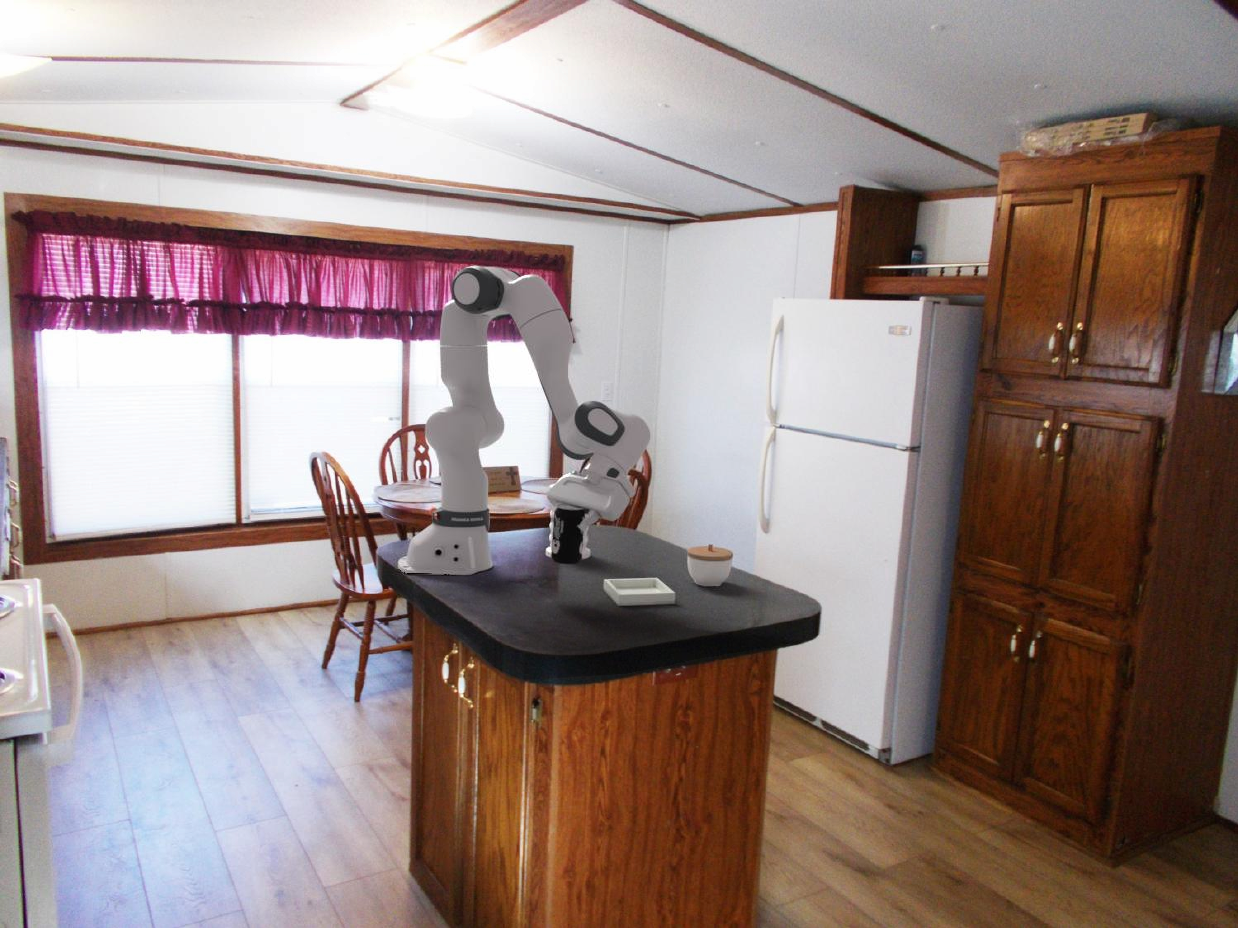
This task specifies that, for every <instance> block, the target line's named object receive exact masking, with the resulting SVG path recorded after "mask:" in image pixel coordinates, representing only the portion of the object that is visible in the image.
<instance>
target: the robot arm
mask: <svg viewBox="0 0 1238 928" xmlns="http://www.w3.org/2000/svg"><path fill="white" fill-rule="evenodd" d="M450 289H451V290H450V292H451V293H450V294H451V297H452V300H449V301H447V302H446V304H444V306H443V309H442V313H441V320H440V330H439V351H440V352H439V357H440V358H439V360H440V378H441V382H442V383H443V384H444V386H445V387H446V388H447V391H448V393H449V396H450V399H451V403H452V405H451V406H446V407H444V408H442V409H439V410H437V411H436V412H434V413H432V414H431V415H430V416H429V417H428V419H427V420H426V423H425V426H424V435H425V439H426V441H427V443H428V445H429V446H430V447H431V448H432V449H433V450H434V452H435V455H436V459H437V463H438V466H439V467H438V468H439V471H440V479H441V481H440V486H441V487H440V488H441V491H440V495H441V497H440V499H441V500H440V502H441V503H440V507H438V508H437V507H435V506H432V507H430V509H429V514H430V516H431V520H432V523H431V524H430V525H428V526H427V527H426V528H424V529H423V530H422V531H420V532H418V534H416V535H415V536H413V537H412V539H411V540H410V542H409V545H408V549H407V553H406V556H403V557H400V558H399V559H398V561H397V568H398V570H399V569H400V570H401V571H400V570H399V571H400V572H402V573H404V572H405V573H404V574H407V573H432V574H431V575H444V574H447V575H448V574H449V576H451V575H452V576H453V575H455V576H471V575H473V574H475V573H478V572H482V571H486V570H489V569H491V568H493V566H494V564H493V560H492V556H491V550H490V544H489V543H490V542H489V530H490V526H491V525H490V520H491V519H490V515H491V514H490V509H489V507H488V506H489V505H488V503H489V475H488V474H487V472H486V471H485V470H484V468H483V465H482V462H481V457H480V449H485V448H488V447H491V446H492V445H493V444H495V443H496V442H497V441H498V440H499V439H501V437H502V436H503V433H504V431H505V421H504V417H503V414H502V413H501V412H500V411H499V410H498V408H497V406H496V402H495V399H494V395H493V391H492V388H491V384H490V376H489V357H488V356H489V354H488V327H489V324H490V322H491V321H492V320H495V321H500V320H503V319H505V318H508V317H512V320H513V321H514V323H515V325H516V328H517V329H518V331H519V334H520V336H521V339H522V340H523V342H524V345H525V346H526V349H527V351H528V353H529V355H530V358H531V360H532V363H533V366H534V368H535V371H536V373H537V376H538V380H539V383H540V385H541V388H542V391H543V393H544V397H546V401H547V404H548V406H549V408H550V411H551V414H552V416H553V420H554V423H555V431H556V433H555V434H556V435H555V436H556V443H557V446H558V449H560V451H561V452H562V453H563V454H564V455H565V456H566V457H568V458H570V459H571V460H572V459H573V460H575V461H584V460H588V459H589V460H588V462H587V463H586V464H585V466H584V467H583V468H582V470H581V472H579V471H576V470H575V471H572V472H569V473H566V474H564V475H562V476H561V477H560V478H559V479H558V480H557V481H556V482H555V483H553V484H554V486H553V487H552V488H551V489H550V488H549V490H548V491H547V492H546V493H547V495H546V498H547V500H548V501H549V503H550V502H551V503H552V505H553V506H555V510H556V509H557V505H558V504H571V505H575V506H579V507H583V508H584V509H583V511H584V513H585V514H587V515H588V516H587V517H586V518H584V519H583V520H579V522H578V523H577V524H576V528H577V529H578V530H580V531H583V532H584V531H585V530H586V529H587V527H588V526H589V527H590V526H591V525H593V524H595V523H596V522H598V520H599V519H601V520H602V519H603V520H606V521H610V522H615V520H618V519H619V518H620V517H621V516H622V515H623V513H624V512H625V510H626V508H628V506H629V503H630V502H631V501H630V499H631V498H633V497H634V496H635V495H636V493H637V491H636V489H635V487H634V486H633V484H632V483H631V481H630V479H629V478H628V474H629V472H630V470H632V469H633V468H634V467H635V466H636V465H637V464H638V462H639V460H640V459H641V458H642V456H643V454H644V453H645V451H646V449H647V447H648V446H649V444H650V440H651V430H650V428H649V426H648V425H647V424H648V423H646V421H645V419H642V417H641V416H638V414H634V413H632V412H631V413H630V412H629V413H626V412H625V413H623V412H620V411H617V410H614V409H612V408H610V407H608V406H607V405H606V404H605V403H603V402H600V401H597V400H589V401H585V402H583V403H582V404H580V405H579V403H578V401H577V398H576V396H575V394H574V393H575V392H574V391H573V387H572V386H571V382H570V379H569V372H568V369H569V362H570V361H569V360H570V356H571V352H572V348H573V344H574V334H573V332H572V327H571V325H570V322H569V321H570V320H569V319H568V317H567V315H566V312H565V310H564V308H563V307H562V305H561V302H560V301H559V300H558V297H557V296H556V295H555V293H554V291H553V290H552V288H551V286H550V285H549V284H548V283H547V281H546V280H545V279H544V278H543V277H541V276H540V275H538V274H525V275H522V274H520V273H519V272H516V271H515V270H512V269H505V268H504V267H503V268H502V267H498V266H480V265H471V266H467V267H463V268H462V269H460V270H459V271H457V273H456V274H455V275H454V277H453V279H452V282H451V287H450ZM551 503H550V504H551ZM552 505H551V506H552ZM551 521H552V522H553V523H554V515H553V516H552V517H550V522H551Z"/></svg>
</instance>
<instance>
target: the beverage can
mask: <svg viewBox="0 0 1238 928" xmlns="http://www.w3.org/2000/svg"><path fill="white" fill-rule="evenodd" d="M583 509H584V508H583V507H579V506H575V505H571V504H558V505H557V509H556V510H555V512H554V524H553V538H552V552H551V557H552V558H551V559H552V560H553V562H555V563H556V564H563V565H577V564H579V563H580V562H581V560H583V559H582V550H583V536H584V532H583V531H580V530H578V529H577V528H576V524H577V523H578V522H579V520H583V519H584V518H585V513H584V511H583Z"/></svg>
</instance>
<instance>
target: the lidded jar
mask: <svg viewBox="0 0 1238 928" xmlns="http://www.w3.org/2000/svg"><path fill="white" fill-rule="evenodd" d="M713 544H714V543H713ZM713 544H712V543H708V544H707V545H701V546H700V545H699V546H692V547H689V548H688V549H687V550H686V551H687V552H686V555H687V556H686V557H687V562H686V563H687V570H688V574H689V575H690V577H691V578H692V579H693V580H694V583H695V585H698V586H702V587H707V586H716V587H720V586H721V585H722V583H723V582H725V581H726V580H727V579H728V578H729V575H730V573H731V570H732V565H733V564H732V563H733V558H734V553H733V551H731V550H730V549H727V548H724V547H717V546H714V545H713Z"/></svg>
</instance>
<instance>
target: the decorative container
mask: <svg viewBox="0 0 1238 928" xmlns="http://www.w3.org/2000/svg"><path fill="white" fill-rule="evenodd" d="M554 484H555V483H553V484H550V485H549V490H550V489H551V488H552V487H553V486H554ZM549 503H550V506H551V507H550V509H551V510H550V512H549V516H550V518H551V517H552V516H553V515H554V512H555V506H553V505H552V503H551V502H550V501H549ZM587 516H588V515H587V514H585V518H586V517H587ZM553 524H554V523H553V522H552V521H551V520H550V523H549V524H548V525H549V530H550V533H549V537H548V540H549V546H548V547H547V548H546V549H545V555H546V556H547V557H549V558H550V559H552V557H551V552H552V538H553ZM589 527H590V526H588V527H587V529H586V530H585V531H584V536H583V550H582V559H581V560H585V559H588V558H590V557H591V549H589V547H588V548H587V543H588V542H589V536H588V531H589Z"/></svg>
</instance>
